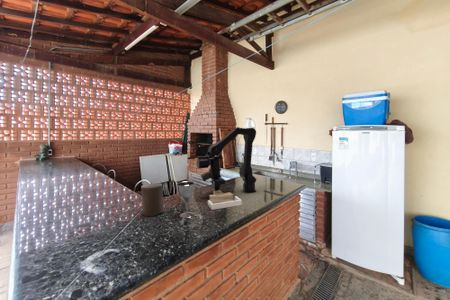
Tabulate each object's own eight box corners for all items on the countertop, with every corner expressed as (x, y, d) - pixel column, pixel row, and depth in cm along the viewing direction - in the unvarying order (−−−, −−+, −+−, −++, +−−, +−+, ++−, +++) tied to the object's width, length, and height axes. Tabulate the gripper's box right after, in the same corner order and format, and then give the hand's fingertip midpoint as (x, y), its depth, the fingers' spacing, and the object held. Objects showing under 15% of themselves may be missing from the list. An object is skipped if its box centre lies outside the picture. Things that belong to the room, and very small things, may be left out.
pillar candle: (157, 217, 96) (155, 185, 95) (138, 216, 98) (136, 184, 97) (167, 209, 105) (165, 180, 104) (149, 208, 107) (148, 180, 106)
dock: (236, 200, 114) (236, 196, 114) (241, 204, 107) (241, 200, 107) (208, 204, 109) (207, 200, 109) (211, 209, 102) (211, 204, 102)
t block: (206, 198, 120) (206, 191, 119) (226, 195, 123) (226, 189, 123) (211, 204, 109) (211, 197, 109) (233, 201, 113) (232, 194, 112)
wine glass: (175, 216, 95) (173, 184, 94) (186, 210, 102) (184, 180, 101) (189, 219, 91) (187, 186, 90) (199, 213, 98) (197, 182, 97)
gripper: (198, 165, 127) (199, 190, 129) (205, 171, 110) (206, 199, 111) (215, 164, 131) (216, 188, 132) (225, 169, 113) (226, 197, 114)
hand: (216, 193), depth 122 cm, fingers closed
